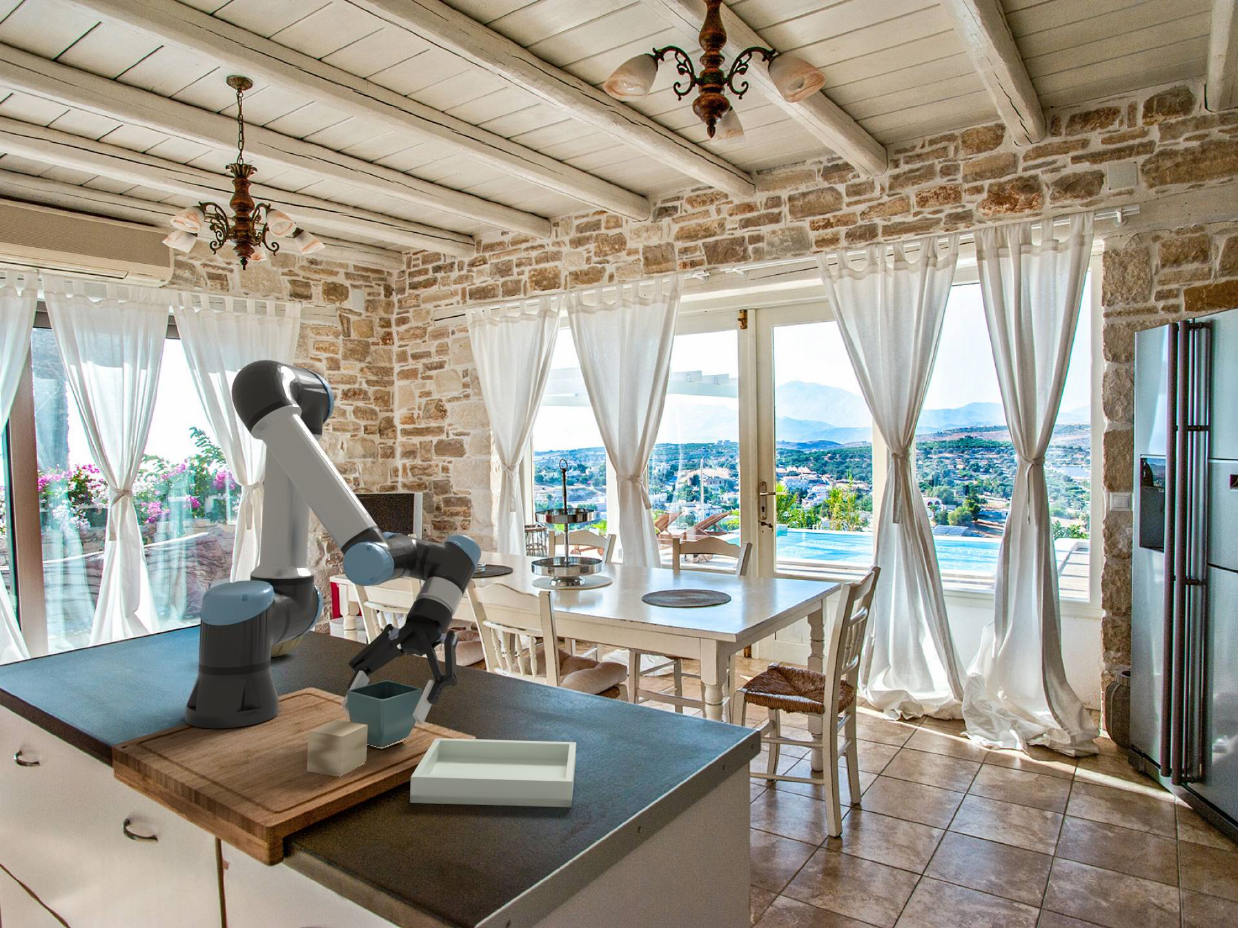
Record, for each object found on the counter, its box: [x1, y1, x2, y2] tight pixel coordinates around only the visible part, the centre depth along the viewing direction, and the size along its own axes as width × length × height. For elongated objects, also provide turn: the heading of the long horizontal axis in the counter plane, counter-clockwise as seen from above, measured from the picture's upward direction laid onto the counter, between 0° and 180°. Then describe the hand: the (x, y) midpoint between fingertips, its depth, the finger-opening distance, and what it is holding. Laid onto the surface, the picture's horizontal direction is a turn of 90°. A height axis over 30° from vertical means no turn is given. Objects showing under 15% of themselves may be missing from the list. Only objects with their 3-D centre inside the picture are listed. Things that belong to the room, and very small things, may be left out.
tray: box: [409, 737, 577, 808], centre depth 116 cm, size 22×16×4 cm
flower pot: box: [346, 679, 423, 747], centre depth 131 cm, size 9×9×9 cm
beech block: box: [306, 719, 368, 778], centre depth 120 cm, size 6×6×6 cm
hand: (381, 714), depth 129 cm, fingers open, 13 cm apart
